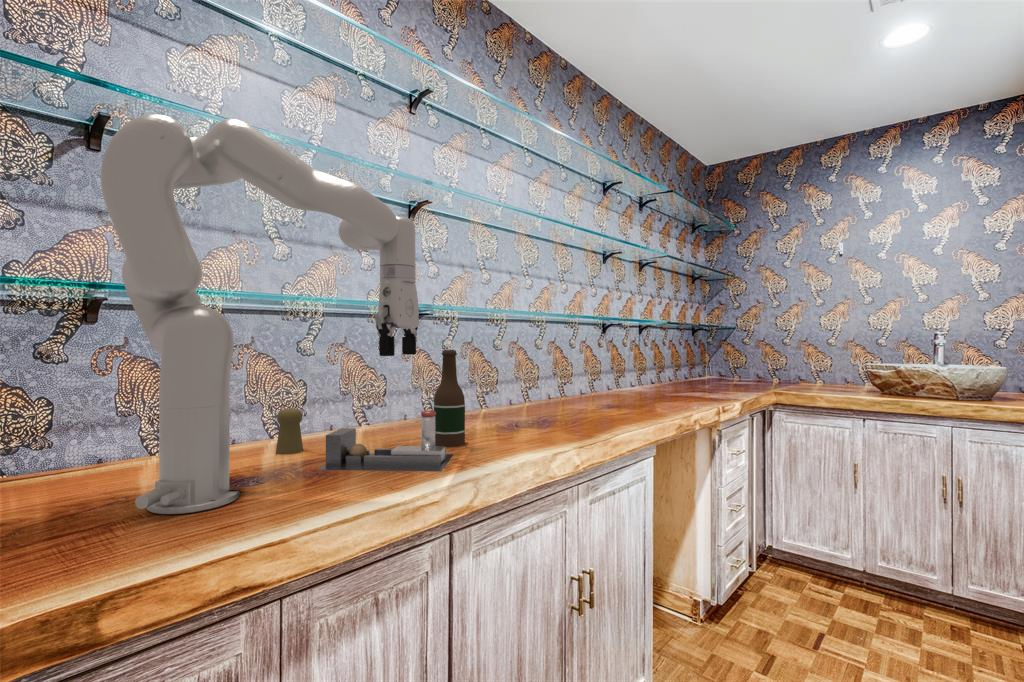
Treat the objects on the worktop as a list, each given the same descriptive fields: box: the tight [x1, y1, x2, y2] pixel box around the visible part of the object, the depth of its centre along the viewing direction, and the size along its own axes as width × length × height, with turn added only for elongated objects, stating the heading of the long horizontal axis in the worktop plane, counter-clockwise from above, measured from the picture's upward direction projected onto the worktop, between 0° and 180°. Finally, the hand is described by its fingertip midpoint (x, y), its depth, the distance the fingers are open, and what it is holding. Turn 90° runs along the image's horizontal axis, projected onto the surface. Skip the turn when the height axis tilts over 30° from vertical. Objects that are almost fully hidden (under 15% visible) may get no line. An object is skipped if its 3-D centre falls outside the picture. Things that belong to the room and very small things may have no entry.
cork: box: [274, 407, 304, 456], centre depth 109 cm, size 6×6×11 cm
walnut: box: [349, 443, 368, 460], centre depth 100 cm, size 4×4×4 cm
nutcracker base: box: [316, 427, 454, 473], centre depth 99 cm, size 14×24×8 cm, turn 87°
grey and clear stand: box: [391, 410, 446, 463], centre depth 99 cm, size 4×10×10 cm, turn 87°
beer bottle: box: [433, 349, 466, 448], centre depth 117 cm, size 8×8×24 cm
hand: (398, 355), depth 105 cm, fingers open, 9 cm apart
